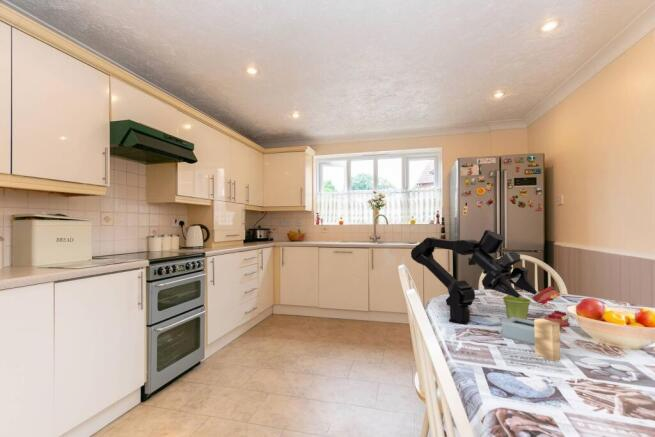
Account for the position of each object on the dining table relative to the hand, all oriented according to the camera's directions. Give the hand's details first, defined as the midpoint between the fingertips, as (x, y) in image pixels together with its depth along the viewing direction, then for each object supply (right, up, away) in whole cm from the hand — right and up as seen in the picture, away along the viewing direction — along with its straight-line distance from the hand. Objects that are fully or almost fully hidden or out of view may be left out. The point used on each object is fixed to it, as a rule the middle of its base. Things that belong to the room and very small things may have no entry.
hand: (527, 295), depth 95 cm
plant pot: (+10, -16, +22) cm, 29 cm away
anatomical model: (+23, -16, +20) cm, 34 cm away
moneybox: (+2, -15, +4) cm, 16 cm away
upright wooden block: (-1, -15, -10) cm, 18 cm away
